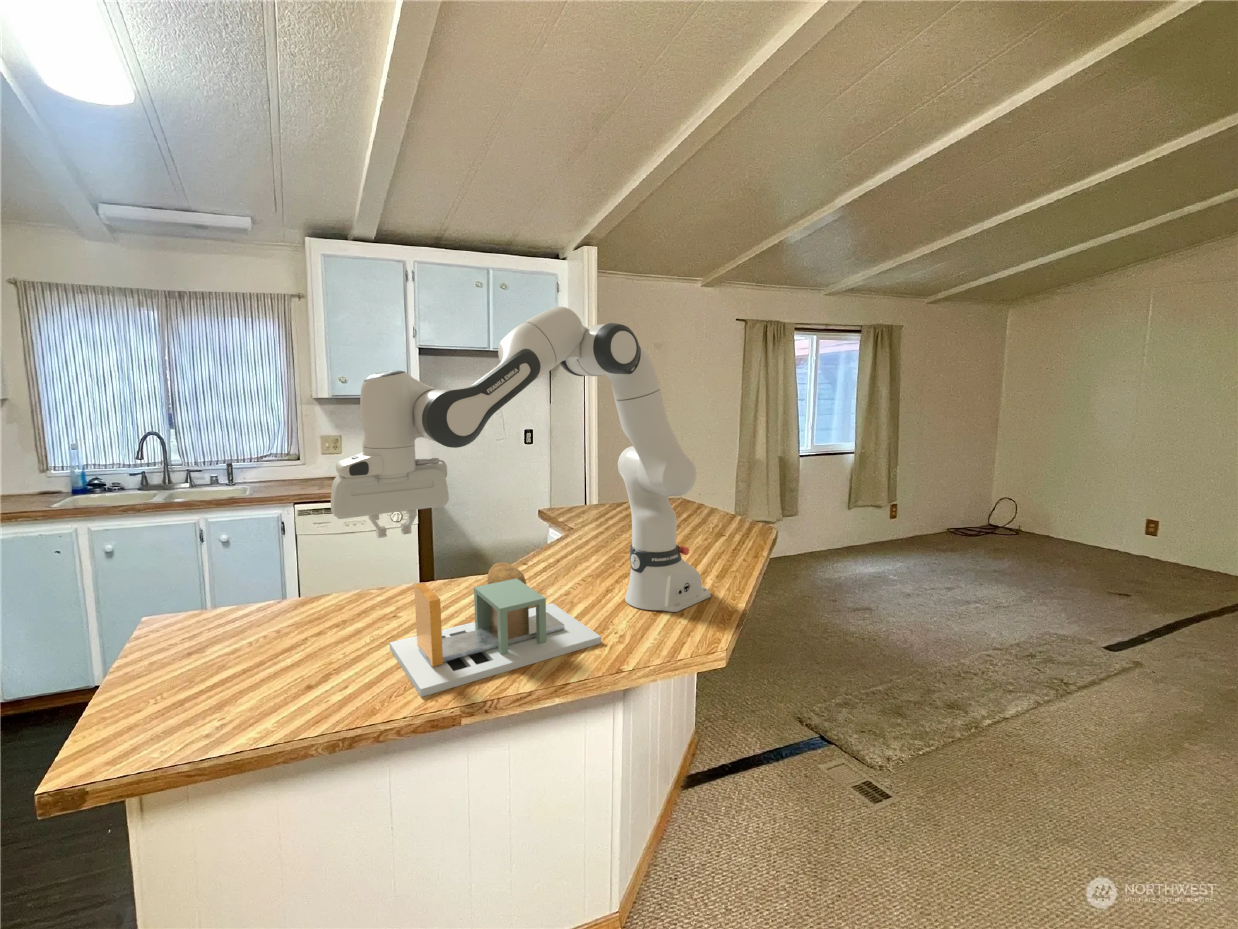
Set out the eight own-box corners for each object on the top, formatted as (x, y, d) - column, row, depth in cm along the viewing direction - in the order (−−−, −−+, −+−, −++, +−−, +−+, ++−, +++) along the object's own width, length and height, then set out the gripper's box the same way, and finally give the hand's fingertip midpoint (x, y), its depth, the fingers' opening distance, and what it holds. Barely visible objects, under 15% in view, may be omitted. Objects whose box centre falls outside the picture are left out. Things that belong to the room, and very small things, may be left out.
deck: (552, 609, 144) (552, 603, 144) (601, 643, 126) (601, 636, 126) (389, 649, 123) (389, 642, 123) (420, 697, 105) (420, 689, 105)
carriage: (545, 615, 136) (544, 559, 134) (566, 630, 128) (566, 572, 126) (417, 647, 120) (414, 585, 118) (432, 667, 112) (429, 601, 110)
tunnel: (517, 619, 135) (516, 578, 133) (546, 642, 123) (545, 598, 122) (475, 629, 129) (473, 587, 128) (501, 655, 118) (500, 608, 116)
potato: (497, 610, 143) (496, 579, 142) (480, 591, 155) (480, 562, 154) (535, 603, 148) (534, 572, 147) (516, 585, 160) (516, 557, 159)
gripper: (441, 455, 116) (444, 523, 118) (326, 463, 104) (331, 539, 107) (452, 459, 111) (454, 530, 113) (332, 468, 99) (337, 548, 101)
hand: (394, 535), depth 110 cm, fingers open, 3 cm apart
